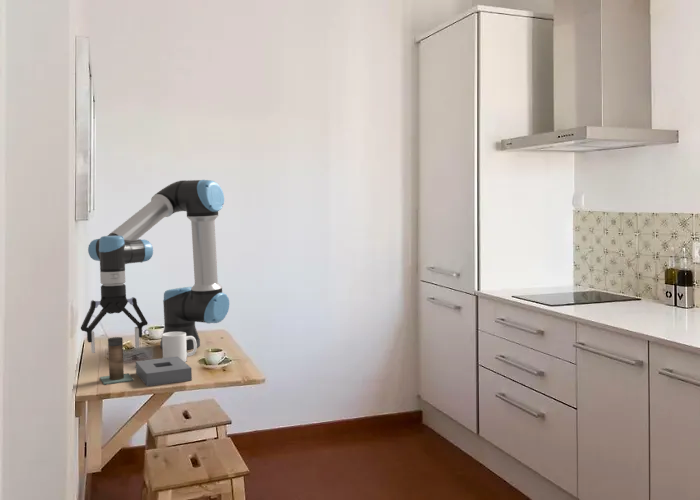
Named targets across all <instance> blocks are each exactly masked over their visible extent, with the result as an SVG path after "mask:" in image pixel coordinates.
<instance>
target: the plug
mask: <svg viewBox="0 0 700 500" xmlns="http://www.w3.org/2000/svg"><path fill="white" fill-rule="evenodd" d="M123 341H124V339H123V337H122V336H115V337H109V338H108V339H107V347H108V348H107V349H108V373H109V374H108V376H109V379H110V380H120V379H123V378H124V374H125V370H124V347H123V346H124V345H123V344H124V343H123Z"/></svg>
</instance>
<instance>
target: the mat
mask: <svg viewBox="0 0 700 500" xmlns="http://www.w3.org/2000/svg"><path fill="white" fill-rule="evenodd" d="M99 379H100V381H101V382H102V384H103V385H104V386H106V385H111V384H113V385H114V384H120V383H126V382H127V383H129V382H134V381H135V379H134V378H133V377H132V375H130V373H127V372H126V373H124V378H123V379H120V380H110V379H109V375H105V376H104V375H103V376H99Z"/></svg>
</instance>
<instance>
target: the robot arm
mask: <svg viewBox="0 0 700 500" xmlns="http://www.w3.org/2000/svg"><path fill="white" fill-rule="evenodd" d="M224 204H225V195H224V192H223V189H222V187H221V186H220V185H219V183H218V182H216V181H215V180H208V179H194V180H192V179H190V180H177V181H175V182H172V183H171V184H168V185H167V186H165V187H163V188H162V189H160V190H159V191H158V192H156V193H155V194H154V195H153V196H152V197H151V199H150V201H149V202H148V203H147V204H146V205H144V206H143V207H141V209H139V210H138V211H137V212H135V213H134V214H133V215H132V216H131V217H129V218H128V219H126V221H124V222H123V223H122V224H120V225H119V226H118V227H116V228H115V229H114V230H113V231H111V232H110V233H108V235H104V236H101V237H100V238H97V239H93V240H91V241H90V243H89V244H88V247H87V248H88V249H87V253H88V255H89V257H90V258H91V259H92V260H94V261H98V262H99V271H100V272H99V273H100V277H99V278H100V280H99V281H100V284H101V286H100V300H94V299H92V300H90V306H89V309H88V312H87V313H86V315H85V317H84V319H83V322H82V324H81V326H80V330H81V331H82V332H86V340H87V342H88V343H90V349H91V350H90V351H91V353H92V354H94V353H96V346H95V345H96V344H95V343H96V341H95V332H94V329H95V328H96V327H97V325H98V324H99V323H100V322H101V321H102V319H103V318H104V317H105V316H106V315H107V314H109V315H110V314H111V315H113V314H120V313H121V312H123V314H125V315H126V316H127V317H128V318H129V319H130V321H132V322H133V323H134V325H136V326H135V327H134V345H135V348H136V349H140V338H142V337H143V327H144V326H148V325H149V324H148V321H147V319H146V317H145V316H144V314H143V312H142V311H141V309H140V306H139V305H138V302H137V298H136V297H134V296H133V297H131V298H127V294H126V293H127V290H126V289H127V287H126V284H125V283H126V265H128V264H135V263H143V262H149V261H150V260H151V259H152V257H153V255H154V247H153V244H152V243H151V242H150V241H149V240H147V239H140V238H141V237H142V236H143V235H145V234H146V233H147V232H148V231H149V230H150V229H152V228H153V227H154V226H155V225H157V224H158V223H159V222H160V221H162V220H163V219H164V218H169V217H171V216H172V215H174V214H175V213H179V212H186V217H187V219H188V220H189V221H190V222H191V223H190V224H191V225H190V226H191V240H192V241H191V242H192V259H193V271H194V272H193V276H194V277H193V278H194V285H193V286H186V287H185V286H184V287H179V288H178V287H177V288H172V289H167V290H165V291H164V292H163V300H162V302H163V319H164V320H163V321H164V322H163V323H164V324H163V325H164V328H163V333H162V334H164V333H167V332H185V333H186V336H193V337H194V338H195V339H196V343H197V348H198V347H200V346H201V339H200V336H199V334H198V333H199V332H198V331H197V328H196V323H204V324H218V323H220V322H222V321H223V320H224V319H225V318H226V317H227V315H228V312H229V309H230V299H229V297H228V295H227V293H225V292H223V286H222V285H221V284H220V283H219V281H218V279H219V278H218V264H217V263H218V262H217V261H218V259H217V245H216V244H217V241H216V227H215V226H216V225H215V220H216V219H217V218H218V217H219V212H220V211H221V210H222V209H223V207H224V206H223V205H224ZM128 303H129V305H130V306H132V307H133V309H134V311H135V312H136V314H137V316H138V318H139V319H140V321H141V322H140V321H139V320H138V319H137V318H136V317H135V316H134V315H133V314H132V313H131V312H130V311H129V310H128V309H127V308H126V306H127V304H128ZM99 306H100V307H101V308H102V309H101V310H100V311H99V313H97V315H96V317H95V318H94V319H93V321H91V319H92V317H93V315H94V313H95V310H96V309H97V308H98V307H99ZM90 321H91V323H90ZM89 323H90V324H89ZM159 343H160V349H161V350H163V348H162V337H161V340H160V342H159ZM186 345H187V351H188V350H192V349H194V343H193V340H192V339H189V340H186Z"/></svg>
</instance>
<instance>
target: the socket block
mask: <svg viewBox="0 0 700 500" xmlns="http://www.w3.org/2000/svg"><path fill="white" fill-rule="evenodd" d="M135 374H136V375H137V376H138V377H139V379H140V380H141V381H142V382H143V383H144V384H145V386H146V387H151V386H158V385H165V384H166V385H167V384H173V383H182V382H188V381H189V382H190V381H192V379H193V378H192V367H191V366H190V365H188V364H187V363H186V362H184V361H183V360H181V359H180V358H179V357H178V356H177V357H169V358H163V357H161V358H154V359H152V358H151V359H145V360H144V359H143V360H136V361H135Z"/></svg>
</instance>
